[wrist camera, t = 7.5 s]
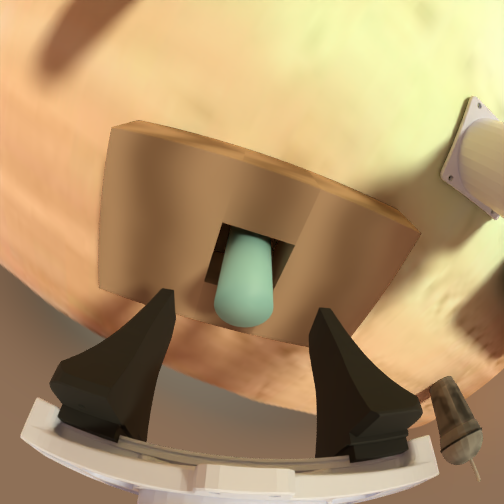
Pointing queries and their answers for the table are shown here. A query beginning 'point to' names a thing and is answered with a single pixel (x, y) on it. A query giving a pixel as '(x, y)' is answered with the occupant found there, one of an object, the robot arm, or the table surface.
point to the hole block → (246, 217)
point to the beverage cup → (455, 424)
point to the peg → (245, 279)
